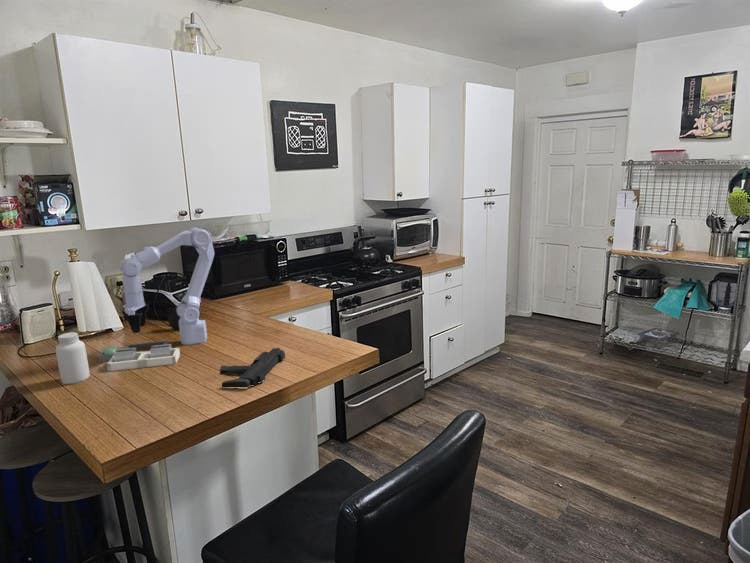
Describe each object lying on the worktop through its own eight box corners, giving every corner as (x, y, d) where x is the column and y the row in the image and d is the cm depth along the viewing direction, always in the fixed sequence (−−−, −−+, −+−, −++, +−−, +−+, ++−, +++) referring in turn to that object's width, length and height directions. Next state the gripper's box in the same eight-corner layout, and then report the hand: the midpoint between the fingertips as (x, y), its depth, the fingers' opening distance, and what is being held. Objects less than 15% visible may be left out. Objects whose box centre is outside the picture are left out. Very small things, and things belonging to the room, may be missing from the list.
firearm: (238, 354, 177) (290, 353, 173) (194, 391, 148) (256, 390, 144) (237, 346, 176) (289, 344, 172) (192, 381, 147) (254, 380, 143)
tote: (168, 346, 183) (167, 340, 182) (162, 358, 171) (161, 351, 171) (128, 351, 180) (127, 344, 179) (119, 363, 168) (118, 356, 168)
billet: (118, 363, 165) (116, 348, 164) (138, 361, 167) (135, 346, 166) (115, 367, 162) (113, 352, 161) (135, 365, 163) (132, 350, 162)
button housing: (123, 356, 175) (122, 348, 174) (118, 362, 169) (117, 354, 169) (105, 357, 174) (103, 350, 173) (99, 364, 168) (98, 356, 167)
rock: (202, 326, 206) (200, 303, 204) (199, 329, 203) (197, 306, 200) (172, 327, 206) (169, 305, 204) (168, 330, 202) (165, 307, 200)
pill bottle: (60, 386, 151) (51, 340, 147) (62, 377, 158) (54, 333, 154) (89, 381, 154) (81, 336, 151) (90, 372, 161) (83, 329, 158)
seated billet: (154, 359, 168) (152, 345, 167) (173, 357, 169) (171, 343, 168) (152, 363, 164) (149, 349, 163) (171, 361, 165) (169, 347, 164)
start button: (119, 354, 174) (117, 346, 173) (115, 358, 170) (114, 350, 169) (106, 355, 173) (105, 347, 172) (103, 359, 169) (102, 351, 168)
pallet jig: (180, 357, 172) (179, 347, 171) (176, 366, 164) (175, 356, 163) (115, 363, 168) (114, 354, 167) (108, 374, 159) (106, 364, 158)
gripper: (126, 288, 177) (132, 324, 180) (115, 298, 164) (121, 336, 167) (147, 287, 179) (152, 322, 182) (138, 296, 165) (143, 334, 168)
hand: (139, 329), depth 174 cm, fingers open, 7 cm apart
